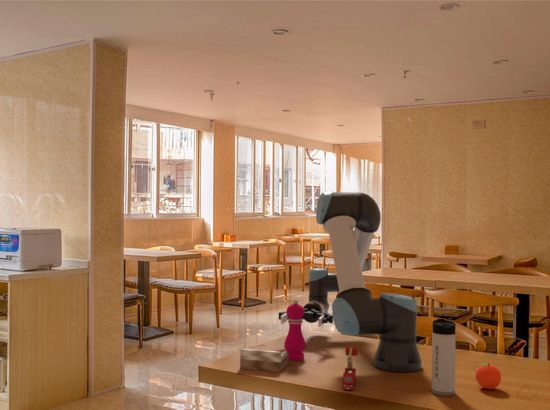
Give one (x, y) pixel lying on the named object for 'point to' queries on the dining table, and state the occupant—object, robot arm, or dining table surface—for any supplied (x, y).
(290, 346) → the pepper mill
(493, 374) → the clementine
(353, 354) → the toy fire truck
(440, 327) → the travel mug
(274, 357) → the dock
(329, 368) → the dining table surface
